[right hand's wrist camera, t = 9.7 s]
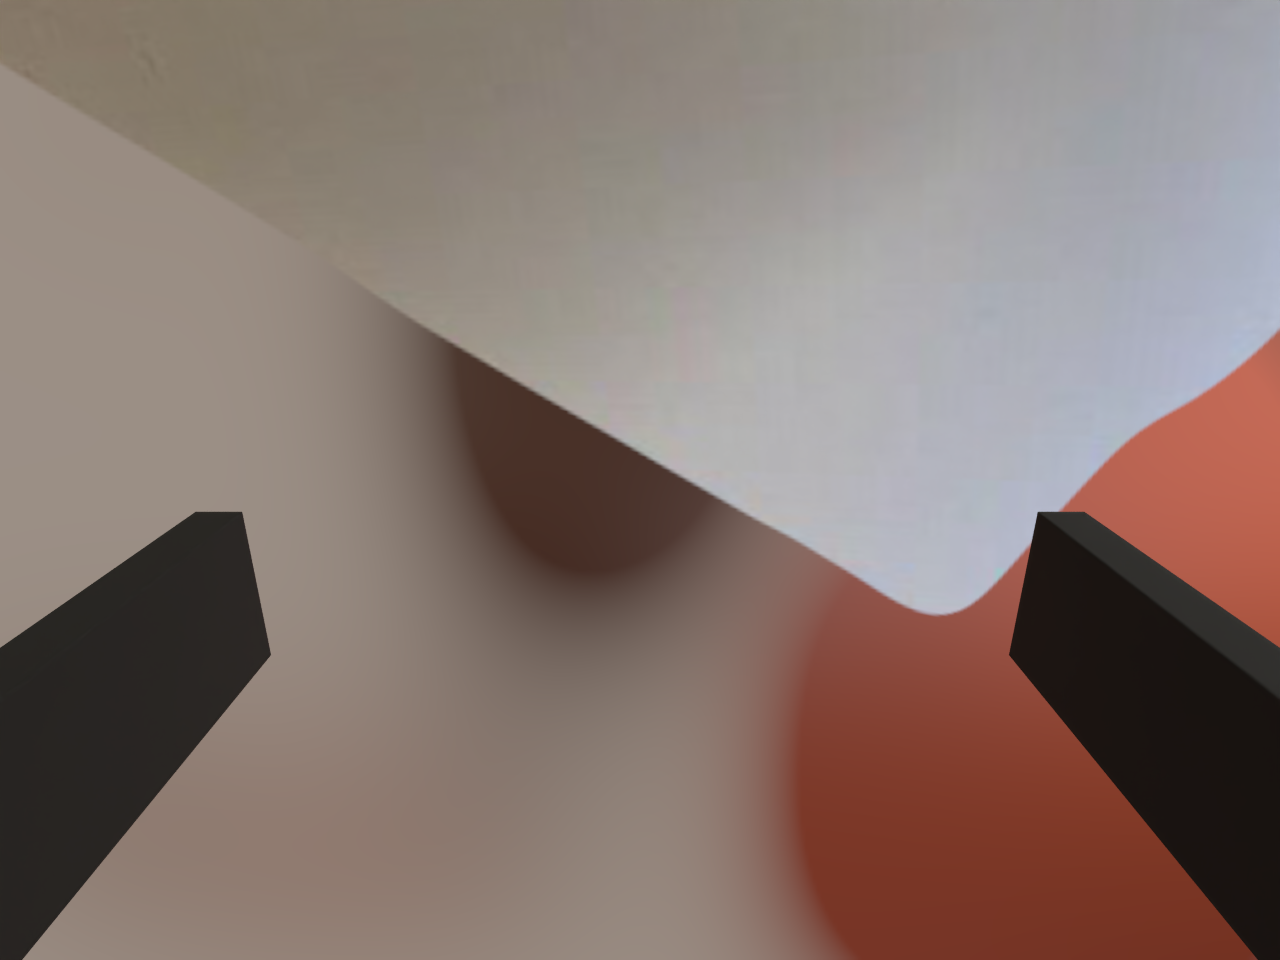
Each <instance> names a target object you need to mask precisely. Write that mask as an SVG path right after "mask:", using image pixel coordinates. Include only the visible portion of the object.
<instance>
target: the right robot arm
mask: <svg viewBox="0 0 1280 960" xmlns="http://www.w3.org/2000/svg"><path fill="white" fill-rule="evenodd" d="M270 655H271V653H270V648H269V643H268V638H267V633H266V628H265V623H264V618H263V613H262V608H261V603H260V598H259V593H258V588H257V583H256V578H255V573H254V568H253V564H252V559H251V554H250V549H249V544H248V539H247V534H246V529H245V524H244V519H243V514H242V512H195V513H193V514H192V515H191V516H189V517H188V518H186V519H185V520H183V521H182V522H180V523H179V524H178V525H176V526H175V527H173V528H172V529H170V530H169V531H168V532H166V533H165V534H163V535H162V536H160V537H159V538H157V539H156V540H155V541H153V542H152V543H150V544H149V545H147V546H146V547H145V548H143V549H142V550H140V551H139V552H137V553H136V554H134V555H133V556H132V557H130V558H129V559H127V560H126V561H124V562H123V563H122V564H120V565H119V566H117V567H116V568H114V569H113V570H111V571H110V572H109V573H107V574H106V575H104V576H103V577H101V578H100V579H99V580H97V581H96V582H94V583H93V584H91V585H90V586H88V587H87V588H86V589H84V590H83V591H81V592H80V593H78V594H77V595H76V596H74V597H73V598H71V599H70V600H68V601H67V602H65V603H64V604H63V605H61V606H60V607H58V608H57V609H55V610H54V611H53V612H51V613H50V614H48V615H47V616H45V617H44V618H43V619H41V620H40V621H38V622H37V623H35V624H34V625H32V626H31V627H30V628H28V629H27V630H25V631H24V632H22V633H21V634H20V635H18V636H17V637H15V638H14V639H12V640H11V641H9V642H8V643H7V644H5V645H4V646H2V647H1V648H0V960H22V959H23V958H24V957H25V956H26V954H27V953H28V952H29V951H30V949H31V948H32V947H33V946H34V945H35V943H36V942H37V941H38V940H39V938H40V937H41V936H42V935H43V933H44V932H45V931H46V930H47V929H48V927H49V926H50V925H51V924H52V922H53V921H54V920H55V919H56V918H57V916H58V915H59V914H60V913H61V911H62V910H63V909H64V908H65V907H66V905H67V904H68V903H69V902H70V900H71V899H72V898H73V897H74V896H75V894H76V893H77V892H78V891H79V889H80V888H81V887H82V886H83V885H84V883H85V882H86V881H87V880H88V878H89V877H90V876H91V875H92V874H93V872H94V871H95V870H96V869H97V867H98V866H99V865H100V864H101V862H102V861H103V860H104V859H105V858H106V856H107V855H108V854H109V853H110V851H111V850H112V849H113V848H114V847H115V845H116V844H117V843H118V842H119V840H120V839H121V838H122V837H123V836H124V834H125V833H126V832H127V831H128V829H129V828H130V827H131V826H132V825H133V823H134V822H135V821H136V819H137V818H138V817H139V816H140V815H141V813H142V812H143V811H144V810H145V808H146V807H147V806H148V805H149V804H150V802H151V801H152V800H153V799H154V798H155V796H156V795H157V794H158V793H159V791H160V790H161V789H162V788H163V787H164V785H165V784H166V783H167V782H168V780H169V779H170V778H171V777H172V775H173V774H174V773H175V772H176V770H177V769H178V768H179V767H180V766H181V764H182V763H183V762H184V761H185V760H186V758H187V757H188V756H189V755H190V753H191V752H192V751H193V750H194V749H195V747H196V746H197V745H198V744H199V742H200V741H201V740H202V739H203V738H204V736H205V735H206V734H207V733H208V731H209V730H210V729H211V728H212V727H213V725H214V724H215V723H216V722H217V720H218V719H219V718H220V717H221V715H222V714H223V713H224V712H225V711H226V709H227V708H228V707H229V706H230V704H231V703H232V702H233V701H234V700H235V698H236V697H237V696H238V695H239V693H240V692H241V691H242V690H243V689H244V687H245V686H246V685H247V684H248V682H249V681H250V680H251V679H252V677H253V676H254V675H255V674H256V673H257V671H258V670H259V669H260V668H261V666H262V665H263V664H264V663H265V662H266V660H267V659H268V658H269V657H270ZM1009 655H1010V657H1011V658H1012V659H1013V660H1014V662H1015V663H1016V664H1017V665H1018V666H1019V668H1020V669H1021V670H1022V671H1023V673H1024V674H1025V675H1026V676H1027V678H1028V679H1029V680H1030V681H1031V682H1032V684H1033V685H1034V686H1035V687H1036V689H1037V690H1038V691H1039V692H1040V693H1041V695H1042V696H1043V697H1044V698H1045V700H1046V701H1047V702H1048V703H1049V704H1050V706H1051V707H1052V708H1053V709H1054V710H1055V712H1056V713H1057V714H1058V715H1059V717H1060V718H1061V719H1062V720H1063V722H1064V723H1065V724H1066V725H1067V726H1068V728H1069V729H1070V730H1071V731H1072V733H1073V734H1074V735H1075V736H1076V738H1077V739H1078V740H1079V741H1080V742H1081V744H1082V745H1083V746H1084V747H1085V749H1086V750H1087V751H1088V752H1089V753H1090V755H1091V756H1092V757H1093V758H1094V760H1095V761H1096V762H1097V763H1098V764H1099V766H1100V767H1101V768H1102V769H1103V771H1104V772H1105V773H1106V774H1107V776H1108V777H1109V778H1110V779H1111V780H1112V782H1113V783H1114V784H1115V785H1116V787H1117V788H1118V789H1119V790H1120V791H1121V793H1122V794H1123V795H1124V796H1125V798H1126V799H1127V800H1128V801H1129V802H1130V804H1131V805H1132V806H1133V807H1134V809H1135V810H1136V811H1137V812H1138V813H1139V815H1140V816H1141V817H1142V818H1143V820H1144V821H1145V822H1146V823H1147V825H1148V826H1149V827H1150V828H1151V829H1152V831H1153V832H1154V833H1155V834H1156V836H1157V837H1158V838H1159V839H1160V840H1161V842H1162V843H1163V844H1164V845H1165V847H1166V848H1167V849H1168V850H1169V851H1170V853H1171V854H1172V855H1173V856H1174V858H1175V859H1176V860H1177V861H1178V862H1179V864H1180V865H1181V866H1182V867H1183V869H1184V870H1185V871H1186V872H1187V874H1188V875H1189V876H1190V877H1191V878H1192V880H1193V881H1194V882H1195V883H1196V885H1197V886H1198V887H1199V888H1200V889H1201V891H1202V892H1203V893H1204V894H1205V896H1206V897H1207V898H1208V899H1209V900H1210V902H1211V903H1212V904H1213V905H1214V907H1215V908H1216V909H1217V910H1218V911H1219V913H1220V914H1221V915H1222V916H1223V918H1224V919H1225V920H1226V921H1227V923H1228V924H1229V925H1230V926H1231V927H1232V929H1233V930H1234V931H1235V932H1236V933H1237V935H1238V936H1239V937H1240V938H1241V940H1242V941H1243V942H1244V943H1245V945H1246V946H1247V947H1248V948H1249V949H1250V951H1251V952H1252V953H1253V954H1254V956H1255V957H1256V958H1257V959H1258V960H1280V648H1279V647H1278V646H1276V645H1275V644H1273V643H1272V642H1271V641H1269V640H1268V639H1266V638H1265V637H1263V636H1262V635H1261V634H1259V633H1258V632H1256V631H1255V630H1253V629H1252V628H1250V627H1249V626H1248V625H1246V624H1245V623H1243V622H1242V621H1240V620H1239V619H1238V618H1236V617H1235V616H1233V615H1232V614H1230V613H1229V612H1227V611H1226V610H1224V609H1223V608H1222V607H1220V606H1219V605H1217V604H1216V603H1215V602H1213V601H1212V600H1210V599H1209V598H1207V597H1206V596H1204V595H1203V594H1202V593H1200V592H1199V591H1197V590H1196V589H1194V588H1193V587H1191V586H1190V585H1189V584H1187V583H1186V582H1184V581H1183V580H1181V579H1180V578H1179V577H1177V576H1176V575H1174V574H1173V573H1171V572H1170V571H1169V570H1167V569H1166V568H1164V567H1163V566H1161V565H1160V564H1158V563H1157V562H1156V561H1154V560H1153V559H1151V558H1150V557H1148V556H1147V555H1146V554H1144V553H1143V552H1141V551H1140V550H1138V549H1137V548H1135V547H1134V546H1133V545H1131V544H1130V543H1128V542H1127V541H1125V540H1124V539H1123V538H1121V537H1120V536H1118V535H1117V534H1115V533H1114V532H1112V531H1111V530H1110V529H1108V528H1107V527H1105V526H1104V525H1102V524H1101V523H1100V522H1098V521H1097V520H1095V519H1094V518H1092V517H1091V516H1089V515H1088V514H1087V513H1085V512H1038V514H1037V519H1036V524H1035V529H1034V534H1033V539H1032V544H1031V549H1030V554H1029V559H1028V563H1027V568H1026V574H1025V578H1024V583H1023V588H1022V593H1021V598H1020V603H1019V608H1018V613H1017V618H1016V623H1015V628H1014V633H1013V638H1012V643H1011V648H1010V653H1009Z"/></svg>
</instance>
